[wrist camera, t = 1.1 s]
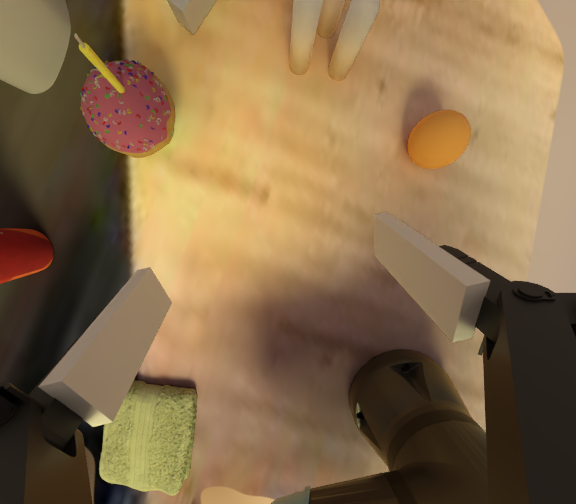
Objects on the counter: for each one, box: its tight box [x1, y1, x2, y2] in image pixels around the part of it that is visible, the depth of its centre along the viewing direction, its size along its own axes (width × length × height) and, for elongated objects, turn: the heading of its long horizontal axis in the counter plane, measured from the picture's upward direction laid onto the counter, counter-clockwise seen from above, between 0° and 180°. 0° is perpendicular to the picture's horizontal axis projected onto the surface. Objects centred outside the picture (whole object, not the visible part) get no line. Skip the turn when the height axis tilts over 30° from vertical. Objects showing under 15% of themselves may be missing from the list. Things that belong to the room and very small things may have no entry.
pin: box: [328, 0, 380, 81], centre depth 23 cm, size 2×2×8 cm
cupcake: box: [74, 34, 175, 158], centre depth 21 cm, size 9×8×12 cm
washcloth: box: [99, 380, 197, 495], centre depth 33 cm, size 13×18×3 cm
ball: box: [408, 110, 471, 169], centre depth 26 cm, size 6×6×6 cm
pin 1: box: [289, 0, 323, 75], centre depth 22 cm, size 2×2×8 cm
